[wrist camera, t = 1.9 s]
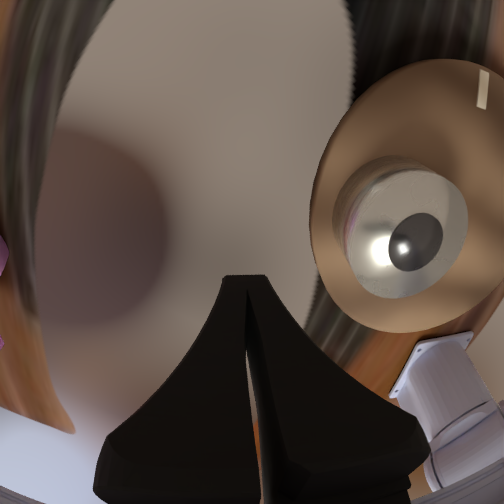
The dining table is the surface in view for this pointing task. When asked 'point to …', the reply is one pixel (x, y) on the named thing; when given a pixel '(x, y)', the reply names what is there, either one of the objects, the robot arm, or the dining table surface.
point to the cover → (399, 225)
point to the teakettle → (0, 259)
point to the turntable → (435, 158)
